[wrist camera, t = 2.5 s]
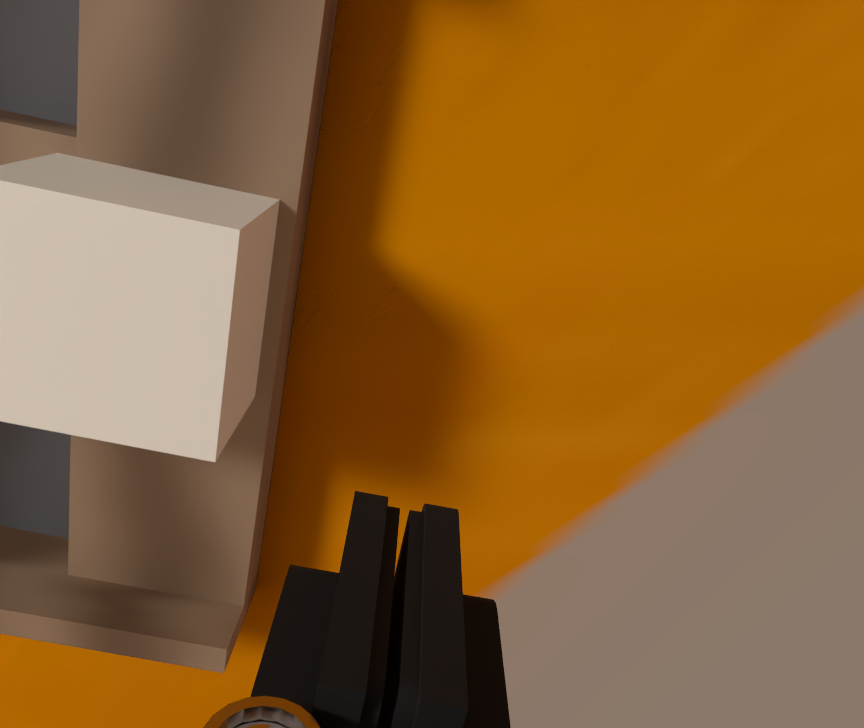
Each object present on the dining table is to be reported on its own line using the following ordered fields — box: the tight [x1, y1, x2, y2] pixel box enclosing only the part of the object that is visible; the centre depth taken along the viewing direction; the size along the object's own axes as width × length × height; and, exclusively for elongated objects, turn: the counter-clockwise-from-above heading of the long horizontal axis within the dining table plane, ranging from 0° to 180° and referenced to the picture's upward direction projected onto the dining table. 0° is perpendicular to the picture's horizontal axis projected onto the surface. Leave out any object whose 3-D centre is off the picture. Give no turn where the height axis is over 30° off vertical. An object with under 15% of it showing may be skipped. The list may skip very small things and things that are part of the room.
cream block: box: [0, 153, 280, 462], centre depth 19 cm, size 6×6×4 cm
